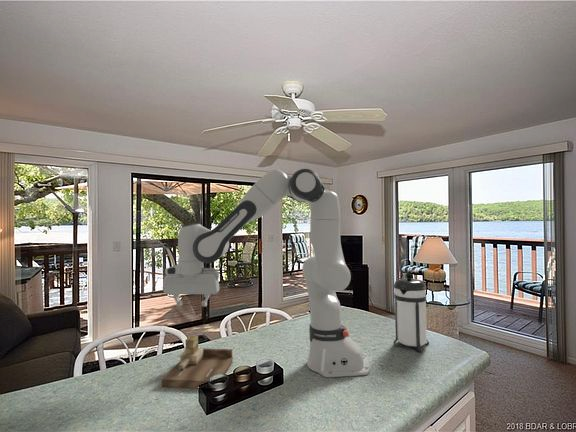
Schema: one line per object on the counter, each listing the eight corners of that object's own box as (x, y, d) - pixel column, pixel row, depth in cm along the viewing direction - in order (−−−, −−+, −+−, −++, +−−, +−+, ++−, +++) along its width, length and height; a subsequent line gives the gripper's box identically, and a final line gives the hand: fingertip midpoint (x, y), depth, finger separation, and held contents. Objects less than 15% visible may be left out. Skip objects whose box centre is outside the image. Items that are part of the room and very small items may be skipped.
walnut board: (232, 362, 112) (232, 349, 112) (215, 389, 94) (215, 373, 94) (186, 361, 114) (186, 347, 114) (161, 387, 96) (161, 371, 96)
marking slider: (203, 356, 111) (203, 335, 111) (189, 372, 100) (189, 347, 100) (187, 356, 112) (187, 334, 112) (172, 371, 100) (172, 347, 101)
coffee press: (440, 352, 117) (438, 276, 118) (399, 353, 118) (397, 276, 118) (421, 335, 135) (419, 269, 135) (386, 336, 135) (384, 269, 136)
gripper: (221, 266, 111) (222, 303, 111) (169, 267, 114) (170, 303, 113) (215, 269, 105) (216, 308, 105) (160, 269, 107) (161, 308, 107)
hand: (191, 306), depth 109 cm, fingers open, 8 cm apart
